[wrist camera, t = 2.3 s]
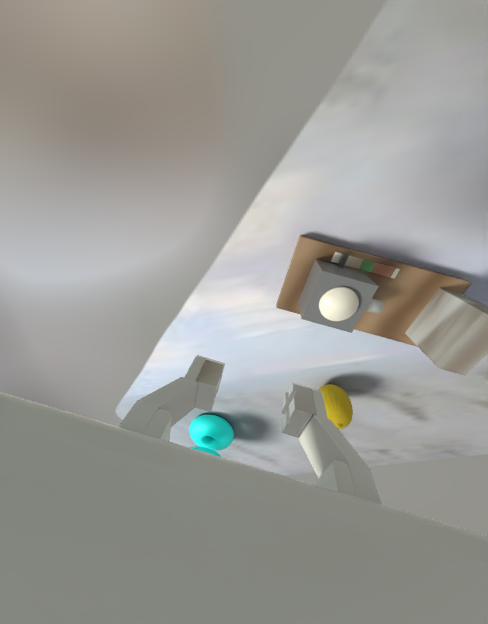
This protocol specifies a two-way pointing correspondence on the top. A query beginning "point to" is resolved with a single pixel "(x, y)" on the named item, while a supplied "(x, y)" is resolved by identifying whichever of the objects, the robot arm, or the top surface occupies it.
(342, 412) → the lemon
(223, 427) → the donuts
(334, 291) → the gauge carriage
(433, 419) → the top surface
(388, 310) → the bench
